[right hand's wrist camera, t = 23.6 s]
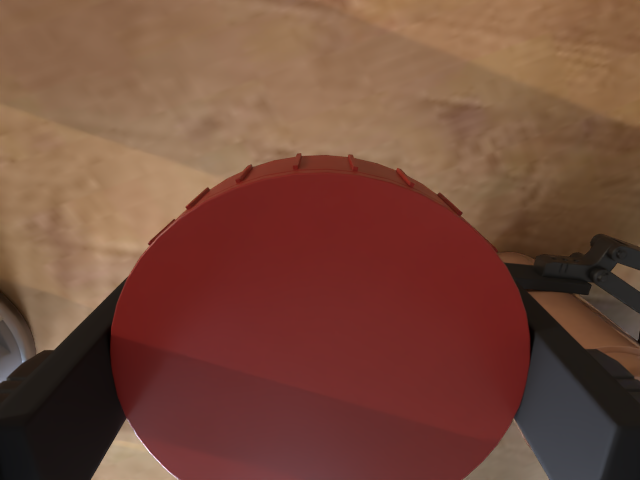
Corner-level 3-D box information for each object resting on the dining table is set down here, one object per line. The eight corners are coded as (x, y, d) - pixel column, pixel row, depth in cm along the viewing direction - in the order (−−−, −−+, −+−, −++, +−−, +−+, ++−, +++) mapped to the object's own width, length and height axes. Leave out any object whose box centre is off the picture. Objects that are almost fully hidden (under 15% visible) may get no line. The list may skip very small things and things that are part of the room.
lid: (101, 173, 11) (46, 195, 9) (504, 130, 10) (552, 142, 8) (185, 470, 14) (161, 539, 12) (490, 446, 14) (521, 513, 12)
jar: (530, 347, 39) (661, 508, 24) (438, 332, 39) (514, 488, 24) (566, 260, 36) (740, 384, 21) (467, 243, 36) (575, 357, 21)
